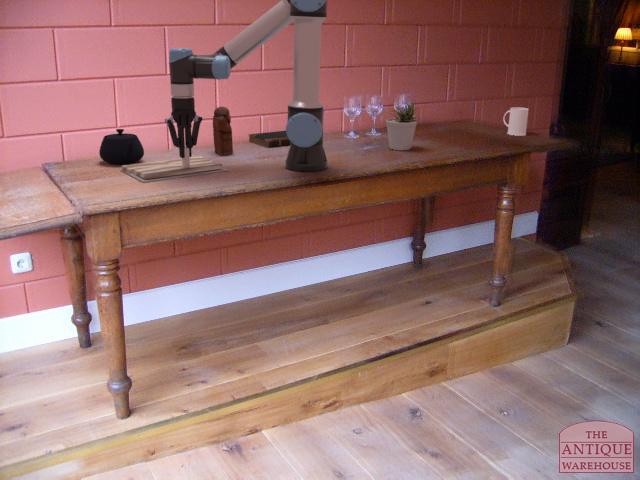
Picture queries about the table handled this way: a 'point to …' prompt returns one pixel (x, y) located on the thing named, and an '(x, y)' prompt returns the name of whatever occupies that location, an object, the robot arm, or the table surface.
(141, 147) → the teapot
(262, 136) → the book
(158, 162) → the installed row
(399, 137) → the potted plant
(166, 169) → the plank
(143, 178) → the tray
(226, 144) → the wooden figurine
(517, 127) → the mug
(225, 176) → the table surface
